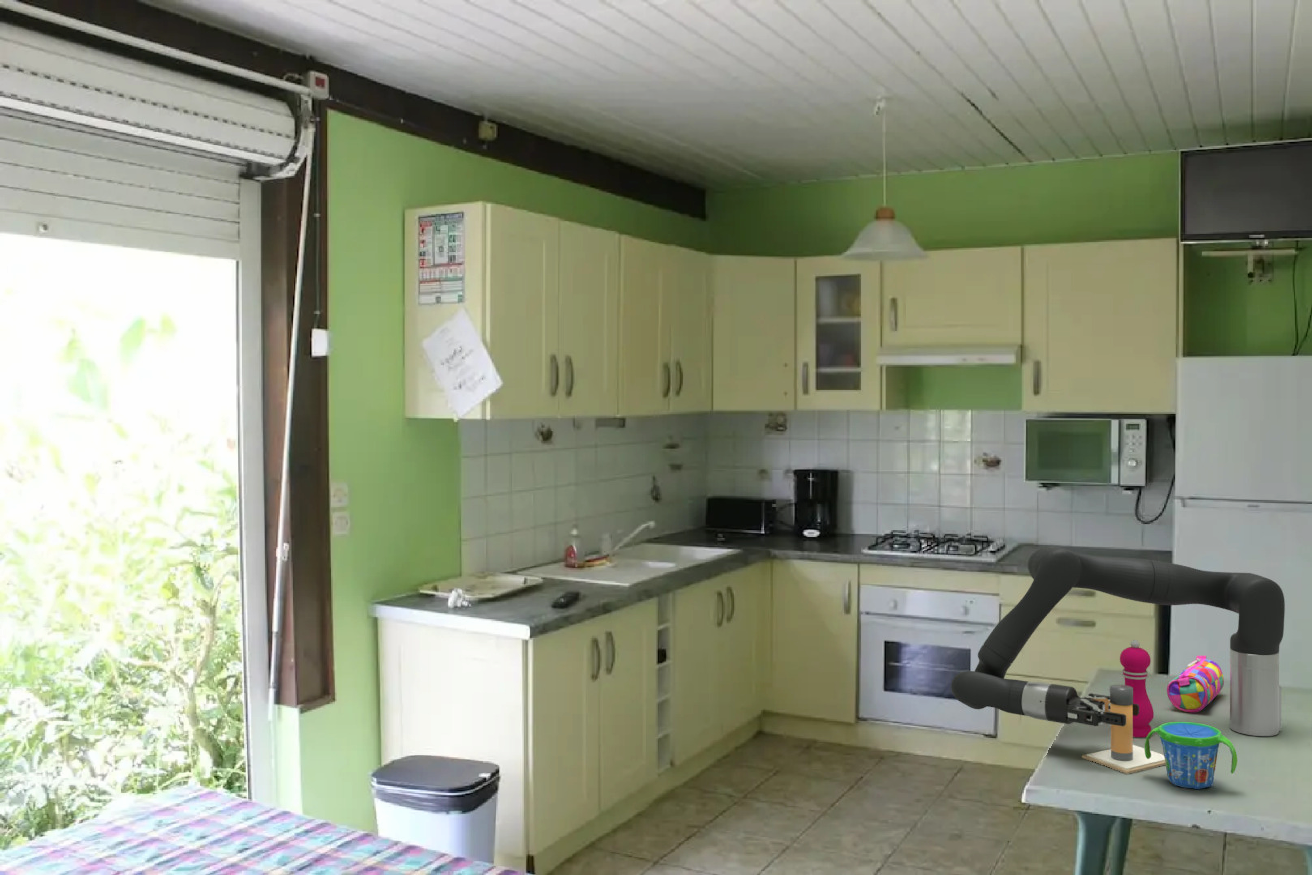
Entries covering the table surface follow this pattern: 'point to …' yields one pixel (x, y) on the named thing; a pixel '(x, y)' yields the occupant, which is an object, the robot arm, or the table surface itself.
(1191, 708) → the pencil case
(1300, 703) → the table surface
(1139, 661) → the pepper mill
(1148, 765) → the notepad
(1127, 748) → the orange grey cylinder
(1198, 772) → the snack cup
